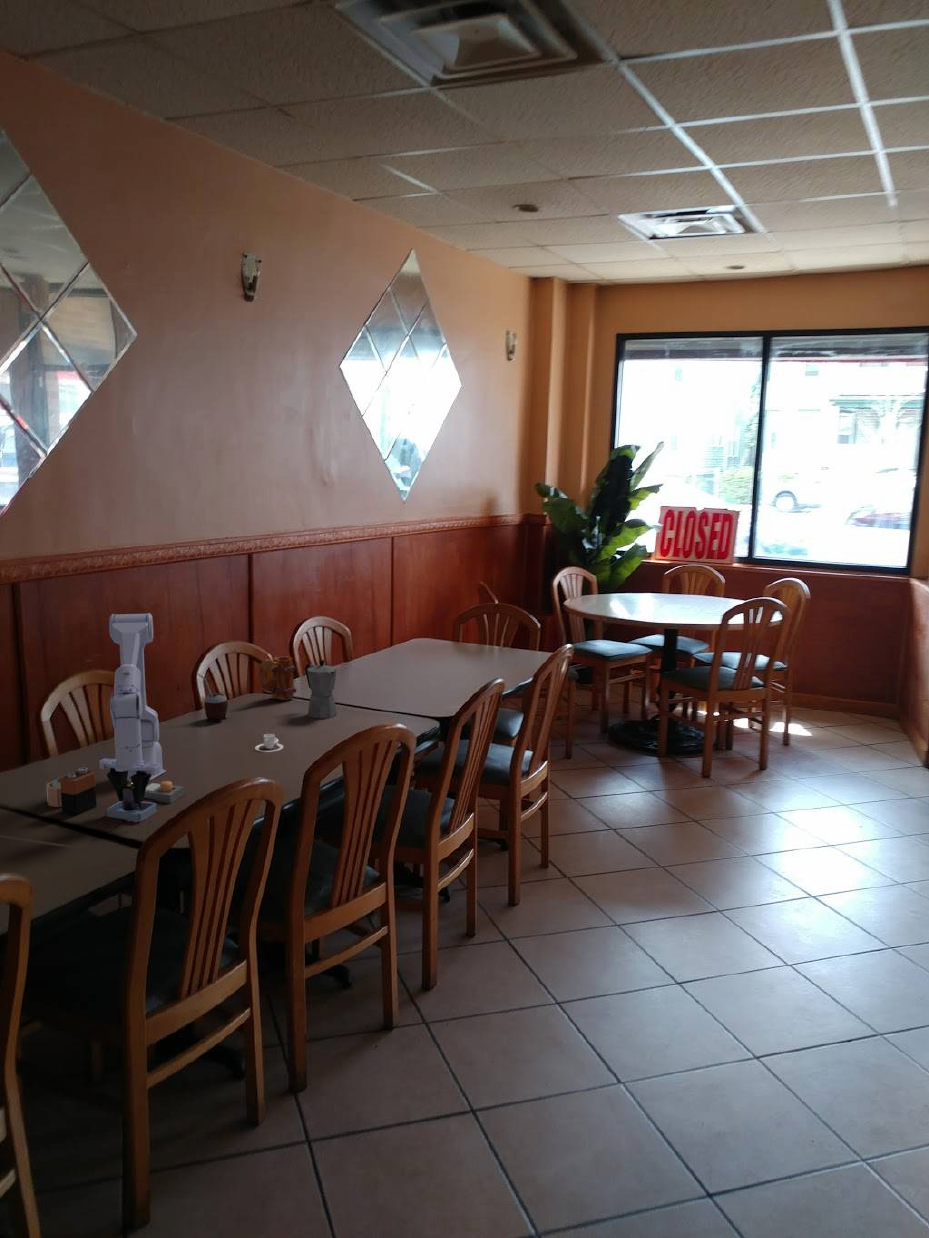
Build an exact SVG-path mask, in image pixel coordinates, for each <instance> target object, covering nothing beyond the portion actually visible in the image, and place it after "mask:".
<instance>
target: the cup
mask: <svg viewBox="0 0 929 1238" xmlns="http://www.w3.org/2000/svg"><path fill="white" fill-rule="evenodd" d="M52 781H53V780H52ZM52 781H50V782H47V783H46V796H47V799H46V801H47V805H48V806H49V807H55V808H62V801H61V788H55V787H53V786H52Z"/></svg>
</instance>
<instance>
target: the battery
mask: <svg viewBox="0 0 929 1238" xmlns="http://www.w3.org/2000/svg"><path fill="white" fill-rule="evenodd" d="M88 769H89V768H88V767H85V766H84V767H79V768H78V769H77V770H76V771H75V772H69V773H67V775H63V776H64V777H62V778H60V785H61V801H62V807H61V812H62V815H67V816H72V817H78V816H81V815H83V814H84V813H86V812H88V811H91V810H93V809H96V808H97V807H98V805H97V791H96V790H97V789H96V788H97V786H96V785H97V784H96V773H95V772H94V771H92V770H88Z"/></svg>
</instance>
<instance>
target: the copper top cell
mask: <svg viewBox="0 0 929 1238" xmlns="http://www.w3.org/2000/svg"><path fill="white" fill-rule="evenodd" d="M121 788H122V809H123V810H125V811H133V810H137V809H139V808H140V807H141V803H139V804H137V803H136V802H135V792H134V787H133V783H132V781H127V783H126V784H125V785H123V786H122V787H121Z"/></svg>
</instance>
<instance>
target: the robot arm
mask: <svg viewBox="0 0 929 1238" xmlns="http://www.w3.org/2000/svg"><path fill="white" fill-rule="evenodd" d="M108 621H109V622H108V623H109V624H108V625H109V626H108V628H109V630H108V631H109V636H110V638H111V639H112V641H113V643H114V644H118V645H119V657H120V666H119V667H117V669H115V671H114V683H113V684H114V685H113V696H111V697H110V703H109V704H110V705H109V707H110V711H109V712H110V716H111V719H112V723H111V724H112V728H113V730H114V749H115V750H114V752H115V755H114V756H115V758H102V759H101V760H99V763H98V764H99V769H100V770H106V769H108V770H109V772H107V773H106V778H107V779H108V780H109V781H110V783H111V784H112V786H113V788H114V790H115V793H116V796H117V799H118V802H120V801H122V788H121V787H122V786H123V785H125V784H126V783H127V782H132V783H133V787H134V792H135V802H136V803H137V804H139V803H141V802H144V800H145V798H144V795H145V791H146V787H147V785H149V782H150V781H151V780H153V779H154V780H155V779H156V778H157V777H159V776H161V775H163V774H165V773H166V772H167V771H166V769H163V751H162V750H163V749H162V747H161V744H160V742H159V740H160V739H159V738H160V722H159V715H158V713H157V711H156V710H154V709H153V708H151V707H149V706H148V705H147V701H146V700H147V699H146V698H147V697H146V695H147V694H146V693H147V692H146V677H145V673H146V671H145V654H144V653H145V652H144V651H145V647H146V645H147V644H150V643H152V642H153V640H154V621H153V615H152V614H151V613H150V612H149V613H148V612H147V613H126V614H125V613H124V614H119V613H118V614H115V613H112V614H111V615H110V616H109V619H108Z"/></svg>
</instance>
